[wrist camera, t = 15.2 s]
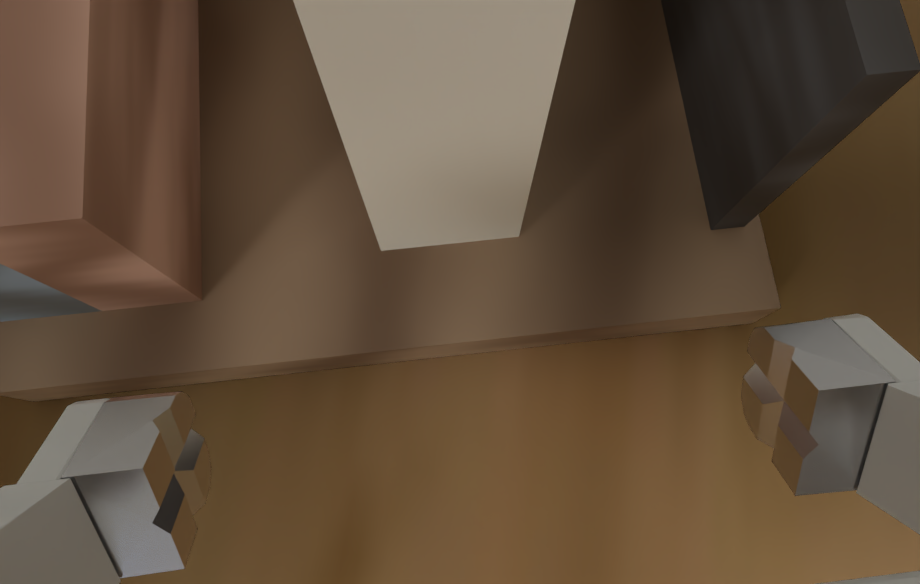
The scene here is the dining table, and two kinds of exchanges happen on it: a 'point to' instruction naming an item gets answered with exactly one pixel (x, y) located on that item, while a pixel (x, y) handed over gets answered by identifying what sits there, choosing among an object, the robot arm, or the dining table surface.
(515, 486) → the dining table surface
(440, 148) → the white rectangular block
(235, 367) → the shelf
